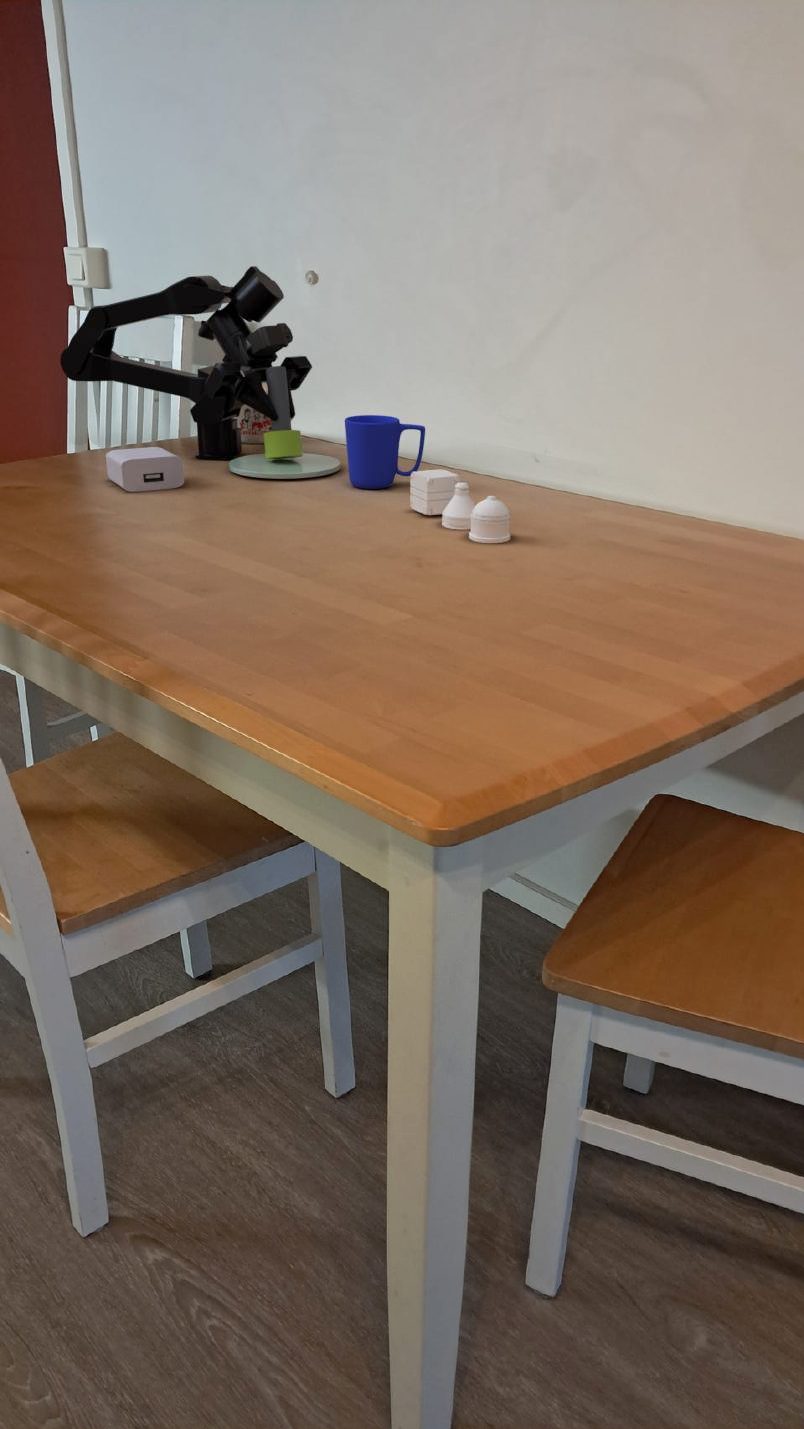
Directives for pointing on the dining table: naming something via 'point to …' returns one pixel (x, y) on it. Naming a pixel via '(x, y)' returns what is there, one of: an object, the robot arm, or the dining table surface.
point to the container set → (459, 506)
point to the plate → (284, 466)
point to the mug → (376, 449)
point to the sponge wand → (281, 419)
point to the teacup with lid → (253, 424)
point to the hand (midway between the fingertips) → (284, 417)
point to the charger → (144, 469)
